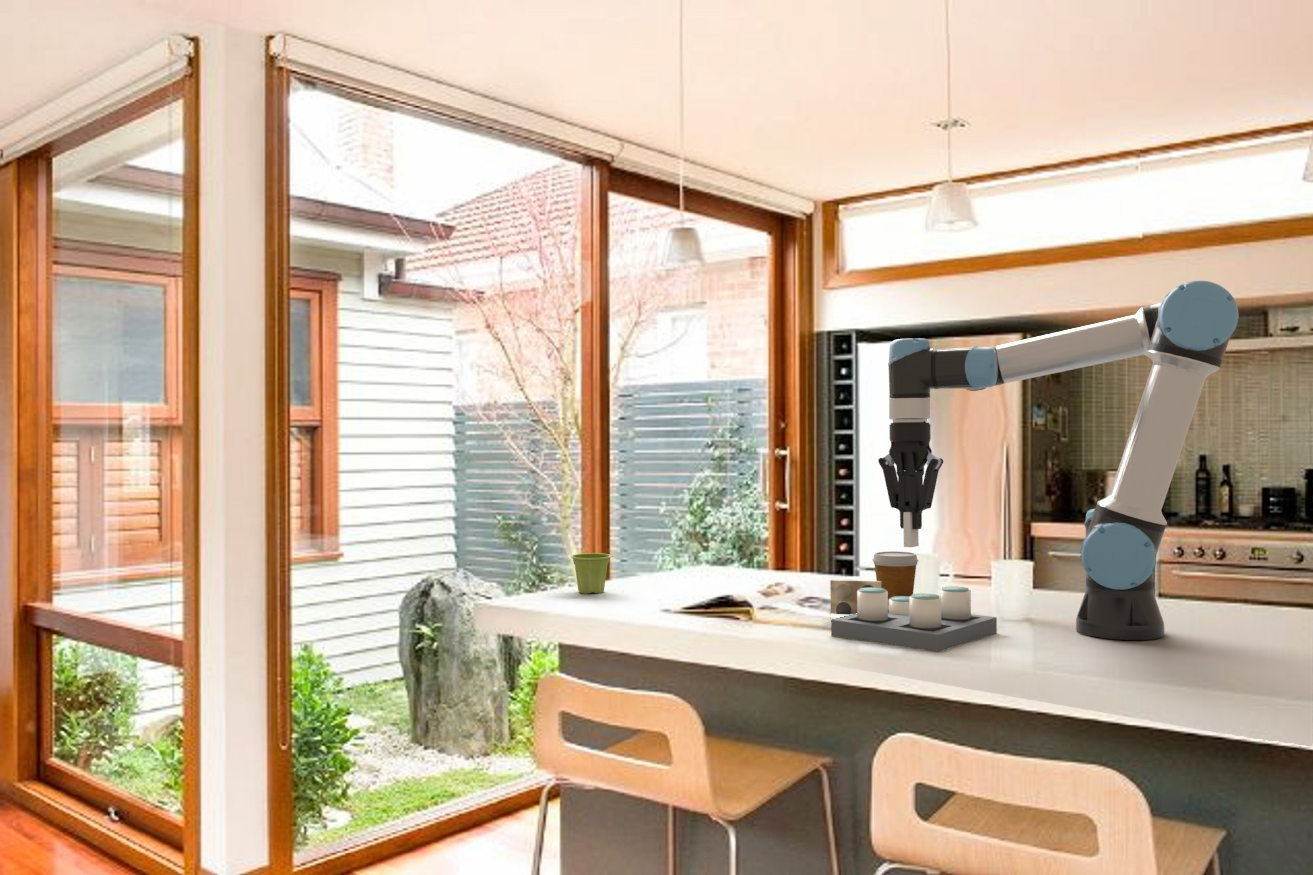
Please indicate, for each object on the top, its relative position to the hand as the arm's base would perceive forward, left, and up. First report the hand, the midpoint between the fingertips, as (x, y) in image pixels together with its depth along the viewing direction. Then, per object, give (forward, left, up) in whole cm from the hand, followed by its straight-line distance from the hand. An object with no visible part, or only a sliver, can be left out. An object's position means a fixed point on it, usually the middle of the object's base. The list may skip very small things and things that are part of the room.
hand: (911, 546), depth 204 cm
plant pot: (+83, +5, -17) cm, 84 cm away
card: (+15, -4, -16) cm, 22 cm away
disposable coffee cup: (+15, -19, -17) cm, 29 cm away
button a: (-7, -4, -13) cm, 15 cm away
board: (-1, +1, -16) cm, 16 cm away
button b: (+4, -4, -16) cm, 17 cm away
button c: (-7, +7, -13) cm, 16 cm away
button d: (+4, +7, -13) cm, 15 cm away
